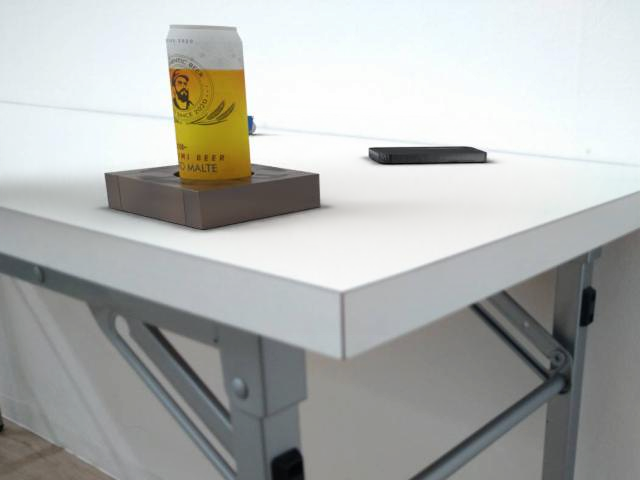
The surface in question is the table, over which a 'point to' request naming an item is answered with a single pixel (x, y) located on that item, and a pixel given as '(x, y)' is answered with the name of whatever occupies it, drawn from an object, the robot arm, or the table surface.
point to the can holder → (212, 195)
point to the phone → (427, 154)
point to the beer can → (209, 101)
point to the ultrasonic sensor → (251, 125)
